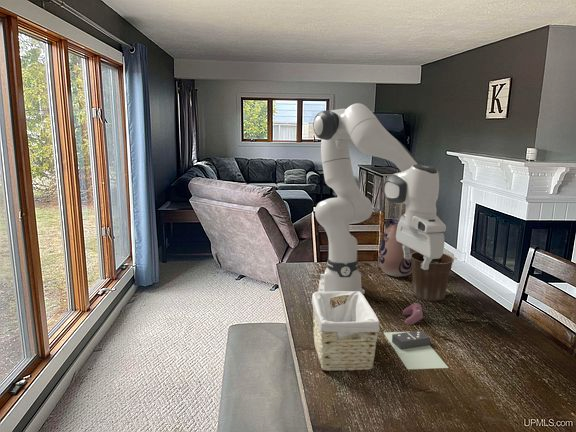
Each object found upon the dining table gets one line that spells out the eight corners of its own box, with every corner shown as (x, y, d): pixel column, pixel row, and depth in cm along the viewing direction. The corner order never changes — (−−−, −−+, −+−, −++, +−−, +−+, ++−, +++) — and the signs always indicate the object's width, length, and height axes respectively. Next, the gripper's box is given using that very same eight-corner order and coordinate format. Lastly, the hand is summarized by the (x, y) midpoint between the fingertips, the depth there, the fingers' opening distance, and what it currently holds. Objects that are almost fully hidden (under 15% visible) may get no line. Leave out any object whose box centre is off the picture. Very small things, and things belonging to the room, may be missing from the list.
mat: (383, 333, 139) (383, 332, 139) (418, 332, 140) (418, 331, 140) (407, 371, 118) (407, 369, 118) (448, 369, 119) (448, 367, 119)
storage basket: (310, 333, 139) (310, 290, 136) (360, 333, 140) (362, 289, 137) (318, 374, 116) (320, 323, 113) (379, 373, 117) (381, 322, 114)
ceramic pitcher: (374, 267, 207) (376, 216, 202) (418, 268, 207) (422, 217, 202) (380, 280, 190) (383, 224, 185) (429, 281, 189) (433, 225, 185)
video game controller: (415, 331, 145) (426, 314, 143) (403, 324, 145) (414, 307, 144) (412, 318, 155) (422, 302, 153) (401, 312, 155) (411, 296, 153)
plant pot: (451, 306, 162) (454, 265, 159) (406, 300, 167) (408, 260, 164) (450, 291, 177) (453, 253, 174) (408, 286, 182) (411, 249, 179)
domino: (420, 337, 136) (391, 341, 133) (420, 330, 135) (392, 334, 132) (429, 345, 131) (400, 349, 128) (430, 337, 131) (401, 341, 128)
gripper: (392, 212, 139) (389, 254, 142) (430, 228, 119) (425, 276, 122) (410, 212, 140) (406, 253, 143) (450, 227, 121) (444, 274, 124)
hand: (415, 263), depth 133 cm, fingers open, 8 cm apart
